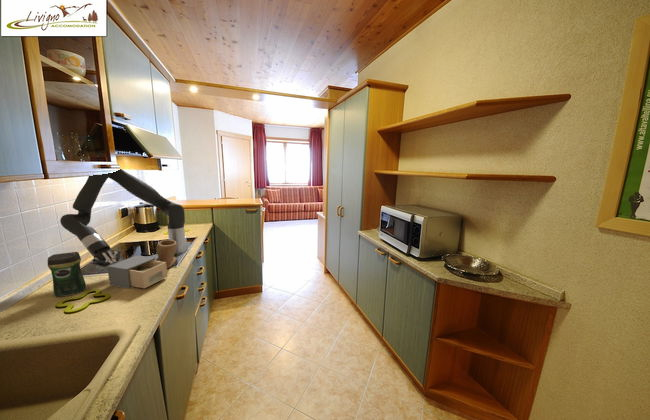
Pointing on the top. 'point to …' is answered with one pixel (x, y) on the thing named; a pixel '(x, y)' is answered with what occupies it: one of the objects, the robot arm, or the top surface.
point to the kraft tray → (147, 274)
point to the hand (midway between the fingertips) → (117, 269)
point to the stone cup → (167, 252)
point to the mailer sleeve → (125, 270)
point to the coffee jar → (66, 273)
